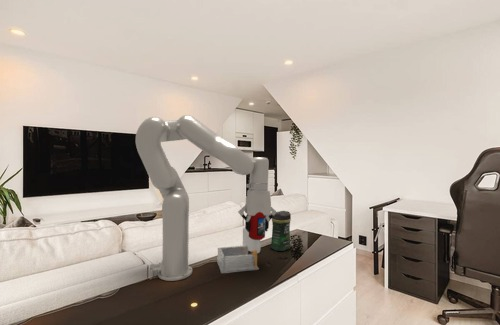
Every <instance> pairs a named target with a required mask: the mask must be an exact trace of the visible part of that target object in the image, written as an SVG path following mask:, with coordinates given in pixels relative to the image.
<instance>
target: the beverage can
mask: <svg viewBox="0 0 500 325" xmlns="http://www.w3.org/2000/svg"><path fill="white" fill-rule="evenodd" d="M249 222H250V232H249V237H250V238H251V239H253V240H260V241H261V240H263V239H265V237H266V231H265V224H266V216H264V214H263V213H262V212H258V213H256V214H255V216H251V218H250V220H249Z"/></svg>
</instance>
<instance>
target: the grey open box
mask: <svg viewBox="0 0 500 325" xmlns="http://www.w3.org/2000/svg"><path fill="white" fill-rule="evenodd" d="M216 262H217V263H216V264H217V265H218V268H219V271H220V274H229V273H240V272H249V271H258V270H259V269H260V268H259V266H258V253H257V250H252V252H251V253H249V251H248V246H243V245H238V246H237V245H236V246H234V245H233V246H224V247H217V258H216Z"/></svg>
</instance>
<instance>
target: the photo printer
mask: <svg viewBox="0 0 500 325" xmlns="http://www.w3.org/2000/svg"><path fill="white" fill-rule="evenodd" d="M242 246H248V252H250V253H252V250H257V254H259V253H260V252H261V240H253V239H251V238H250V237H249V232H248V231H247V230H246V229H245V225H244V226H243V227H242Z"/></svg>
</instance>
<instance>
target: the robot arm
mask: <svg viewBox="0 0 500 325" xmlns="http://www.w3.org/2000/svg"><path fill="white" fill-rule="evenodd" d="M184 140H187V141H188V142H190V143H191V144H193V145H194V146H195V147H197V148H199V149H200V150H201V151H202V152H204V153H205V154H207V155H209V156H210V157H213V158H215V159H217V160H219V161H221V162H222V163H224V164H225V165H226V166H228V167H229V168H231V170H232V172H234V173H235V174H237V175H241V176H247V175H249V183H246V185H245V188H248V190H247V191H246V197H245V203H244V204H245V205H244V206H243V207H241V208H240V209H239V210H238V212H237V213H238V214H239V215H240V217H242V219H243V220H244V221H245V225H244V226H245V229H246V230H247V231H248V232H250V222H249V220H250V218H251V216H255V214H256V213H258V212H262V213H263V214H264V216H266V224H265V232H268V229H269V228H270V226H269V224H270V222H271V220H272V217H273V216H274V215H275V214H276V212H277V211H276V209H274V208H273V206H272V200H271V191H270V190H268V187H269V169H270V168H269V166H270V165H269V163H270V162H269V159H268V157H263V156H261V157H259V156H257V157H256V156H254V157H250V156H249V155H248V154H247V153H245V152H244V151H242V150H241V149H240V148H238V147H237V146H235V145H234V144H232V143H231V142H229V141H228V140H226V139H225V138H223V137H222V136H220V135H219V134H217V133H216V132H215V131H213V130H212V129H210V128H209V127H208V126H206V125H205V124H204V123H202V122H200V121H199V120H198V119H197V118H195V117H194V116H191V115H188V114H185V115H182V116H181V117H179V118H178V119H174V120H164V119H162V118H160V117H157V116H151V117H148V118H146V119H144V121H142V122H141V124H140V125H139V126H138V128H137V131H136V133H135V146H136V149H137V150H136V151H137V153H138V155H139V157H140V159H141V162H142V164H143V166H144V168H145V170H146V172H147V174H148V176H149V179H150V181H151V184H152V185H153V187H154V188H155V189H157V190H158V191H159V193H160V195H161V196H162V199H163V200H162V203H161V215H162V216H161V219H162V259H161V262H159V263H154V264H153V263H152V264H151V263H150V264H149V270H150V271H151V270H152V272H154V273H155V272H157V277H158V278H159V279H161V280H163V281H166V282H173V281H180V280H184V279H187V278H189V277H190V276H191V275H192V274H193V268H192V266H190V265H189V242H190V241H189V240H190V239H189V236H190V235H189V228H190V227H189V221H190V220H189V219H190V218H189V216H190V215H189V214H190V213H189V212H190V197H189V195H188V192H187V190H186V188H185V186H184V184H183V182H182V180H181V178H180V176H179V173H178V171H177V170H176V169H175V167H173V166H172V165H171V163H170V161H169V159H168V158H167V155H166V152H165V151H164V149H163V147H162V144H161V143H164V142H166V143H167V142H174V141H176V142H177V141H184ZM244 212H245V214H246V215H245V214H244Z"/></svg>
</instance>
